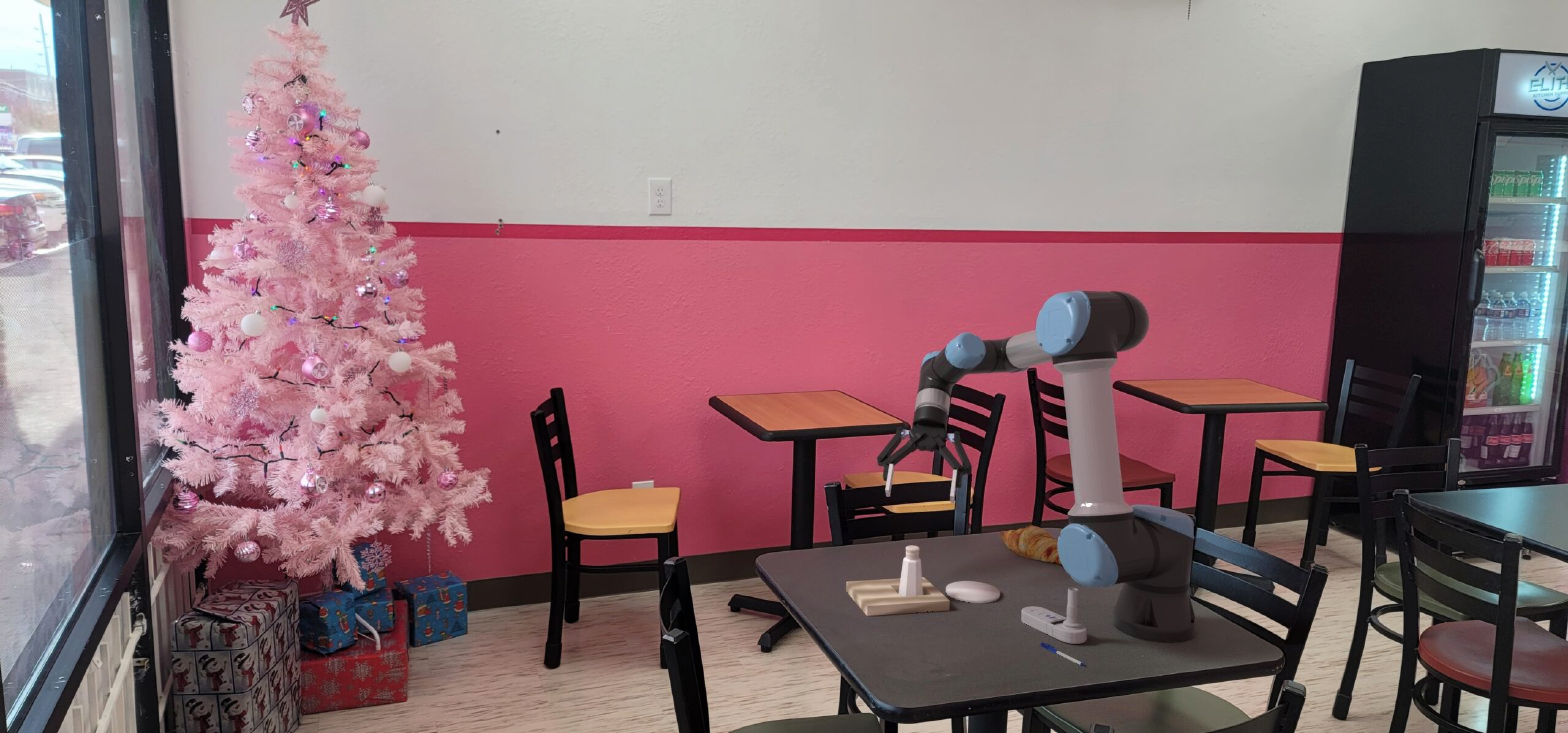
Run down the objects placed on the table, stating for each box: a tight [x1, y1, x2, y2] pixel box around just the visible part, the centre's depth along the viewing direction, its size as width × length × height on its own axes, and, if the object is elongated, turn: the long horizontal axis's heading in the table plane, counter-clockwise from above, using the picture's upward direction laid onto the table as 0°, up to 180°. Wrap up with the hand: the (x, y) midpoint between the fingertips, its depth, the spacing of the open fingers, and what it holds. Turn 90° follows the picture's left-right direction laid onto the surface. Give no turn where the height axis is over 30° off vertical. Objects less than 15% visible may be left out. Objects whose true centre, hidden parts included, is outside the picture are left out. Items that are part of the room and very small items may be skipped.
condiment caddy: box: [845, 576, 951, 617], centre depth 206 cm, size 14×17×2 cm
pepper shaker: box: [899, 545, 923, 597], centre depth 206 cm, size 5×5×11 cm
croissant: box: [1000, 524, 1062, 565], centre depth 238 cm, size 21×10×8 cm, turn 35°
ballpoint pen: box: [1039, 642, 1086, 667], centre depth 181 cm, size 10×1×1 cm, turn 32°
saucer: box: [945, 580, 1001, 604], centre depth 211 cm, size 11×11×1 cm
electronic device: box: [1020, 587, 1088, 645], centre depth 192 cm, size 5×10×15 cm
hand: (919, 496), depth 215 cm, fingers open, 13 cm apart
